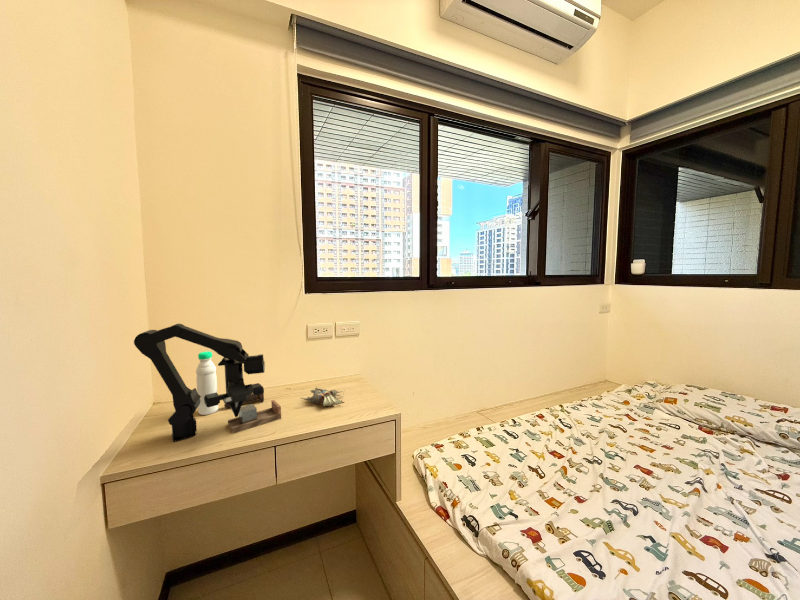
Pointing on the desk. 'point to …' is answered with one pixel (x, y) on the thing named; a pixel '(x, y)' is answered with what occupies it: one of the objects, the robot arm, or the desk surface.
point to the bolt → (250, 399)
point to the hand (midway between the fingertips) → (236, 416)
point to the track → (262, 418)
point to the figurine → (324, 397)
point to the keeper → (247, 413)
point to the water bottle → (206, 381)
